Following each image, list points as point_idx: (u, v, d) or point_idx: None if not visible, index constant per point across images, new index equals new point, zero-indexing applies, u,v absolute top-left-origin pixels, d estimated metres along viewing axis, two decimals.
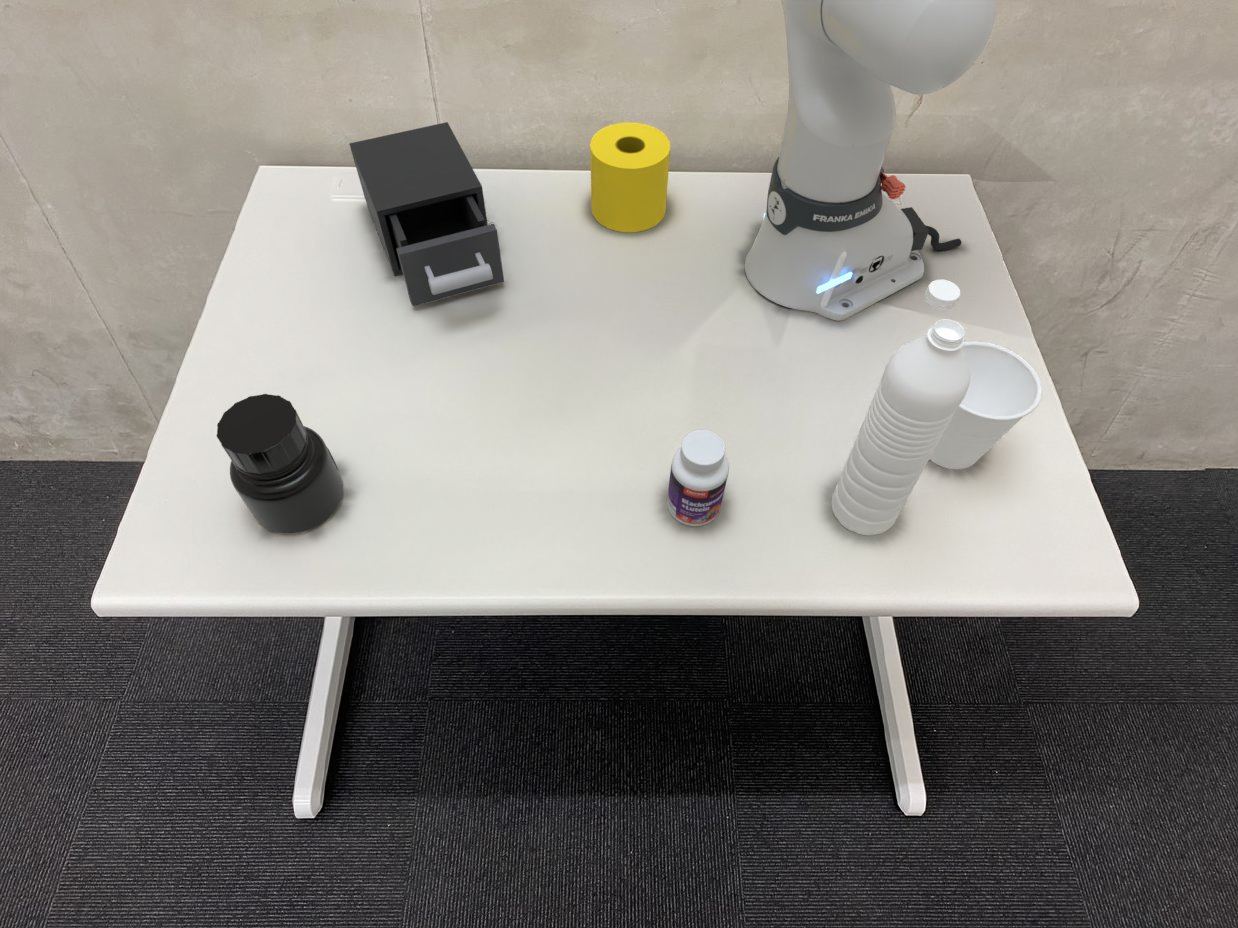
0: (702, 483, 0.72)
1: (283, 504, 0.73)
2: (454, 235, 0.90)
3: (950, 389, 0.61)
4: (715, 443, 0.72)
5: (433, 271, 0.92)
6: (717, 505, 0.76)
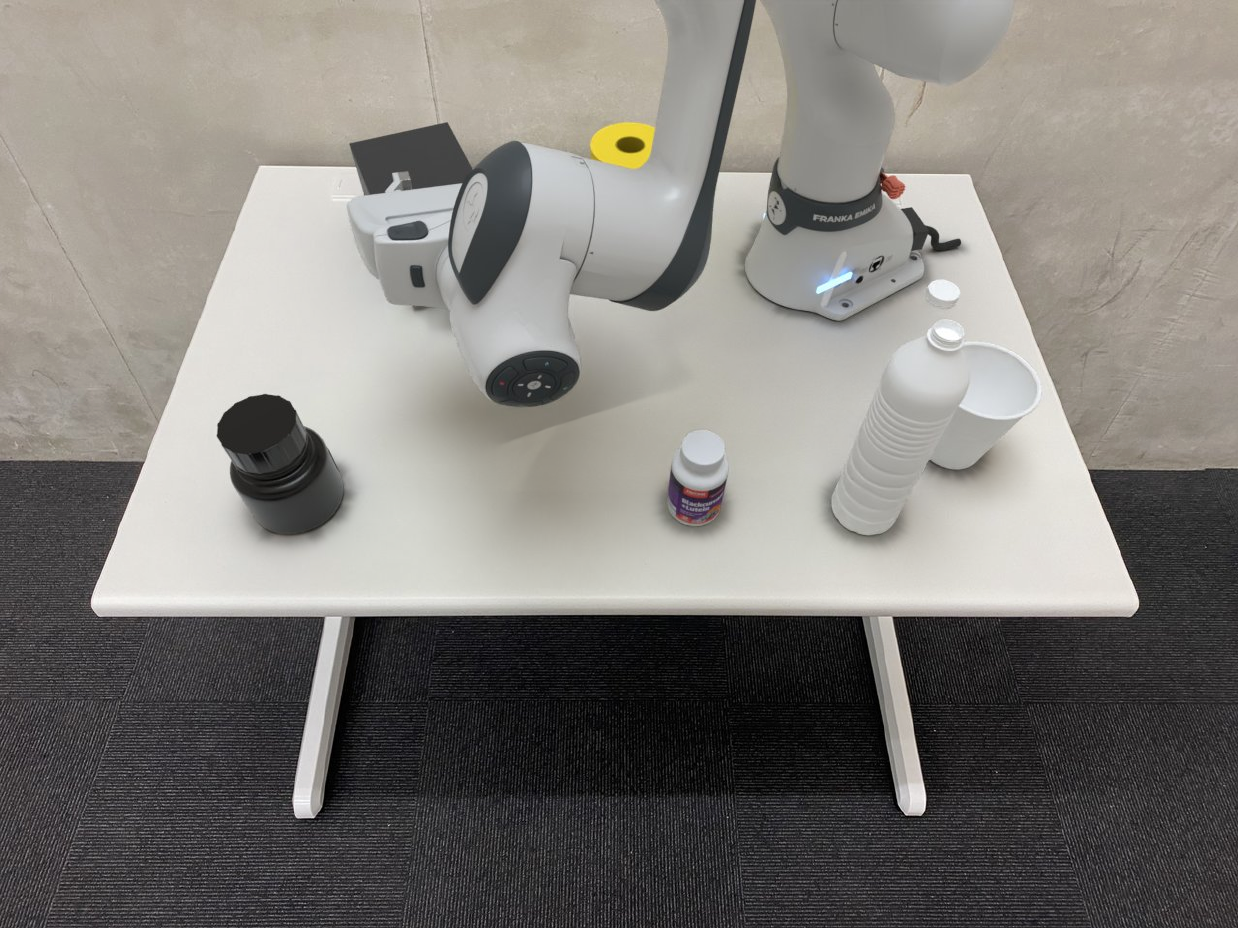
0: (702, 483, 0.72)
1: (283, 504, 0.73)
2: None
3: (949, 389, 0.61)
4: (715, 443, 0.72)
5: None
6: (717, 505, 0.76)
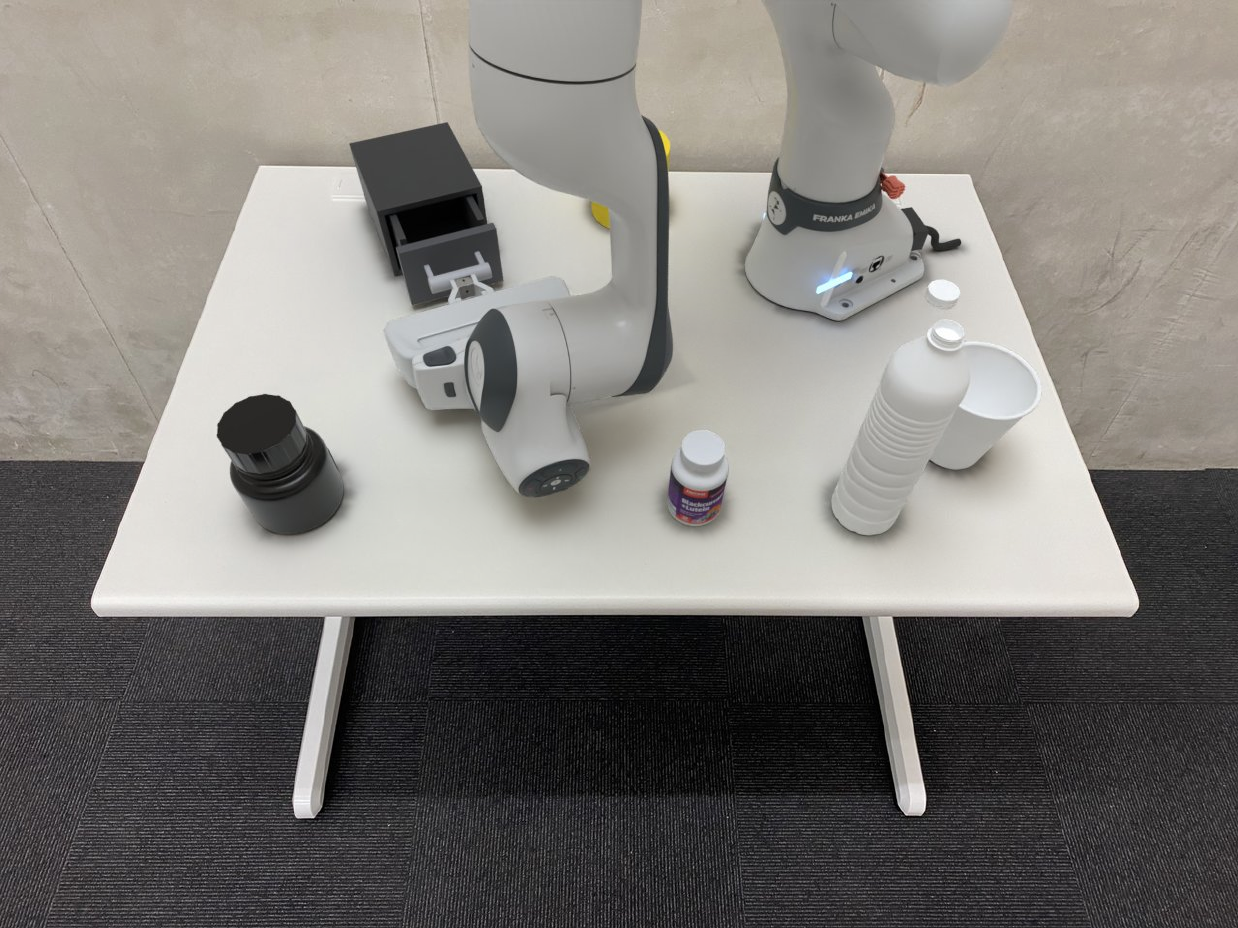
0: (702, 483, 0.72)
1: (283, 504, 0.73)
2: (453, 234, 0.90)
3: (949, 389, 0.61)
4: (715, 443, 0.72)
5: (432, 270, 0.92)
6: (717, 505, 0.76)
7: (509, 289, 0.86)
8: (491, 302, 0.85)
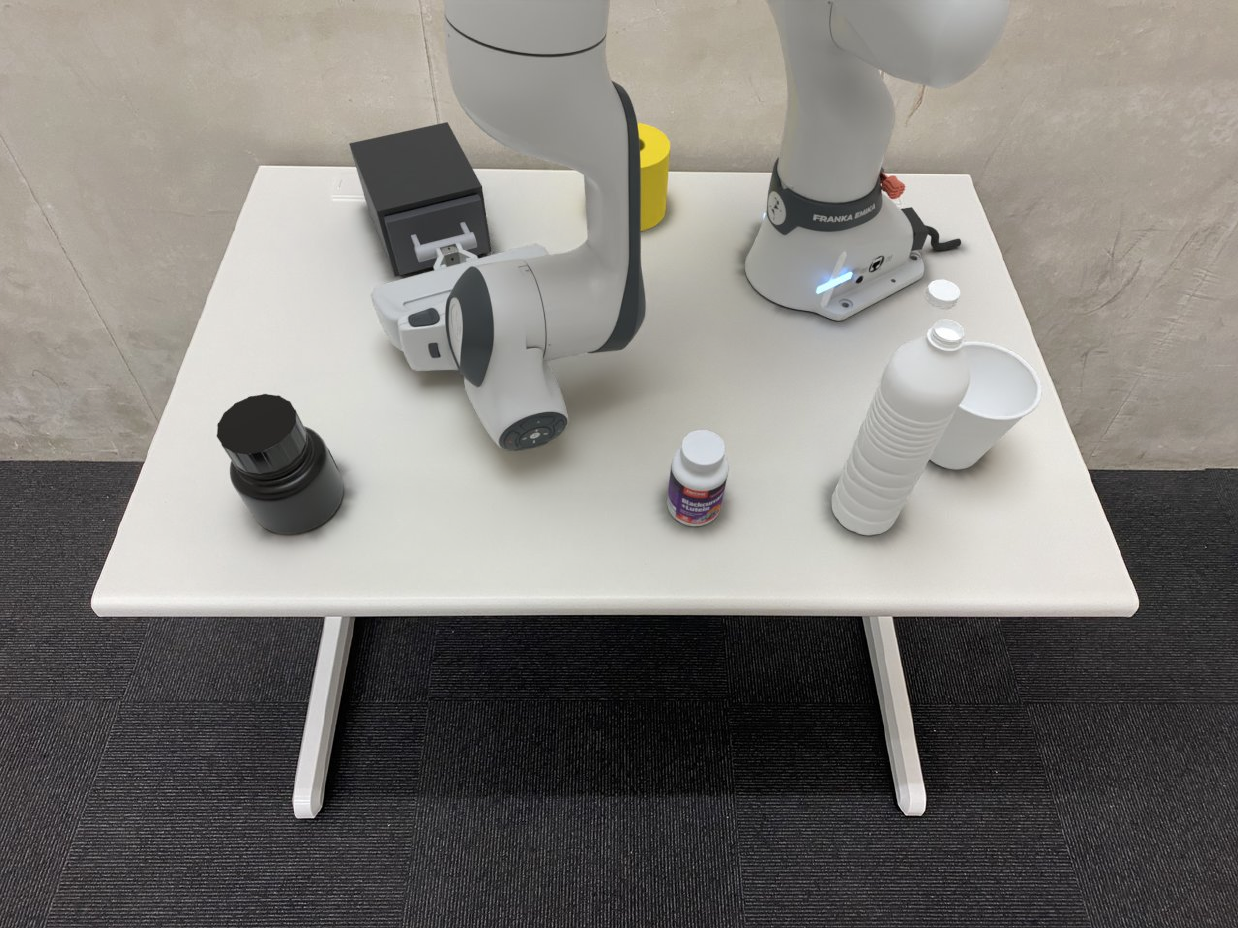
0: (702, 483, 0.72)
1: (283, 504, 0.73)
2: (439, 205, 0.93)
3: (949, 389, 0.61)
4: (715, 443, 0.72)
5: (419, 240, 0.95)
6: (717, 505, 0.76)
7: (492, 256, 0.89)
8: None
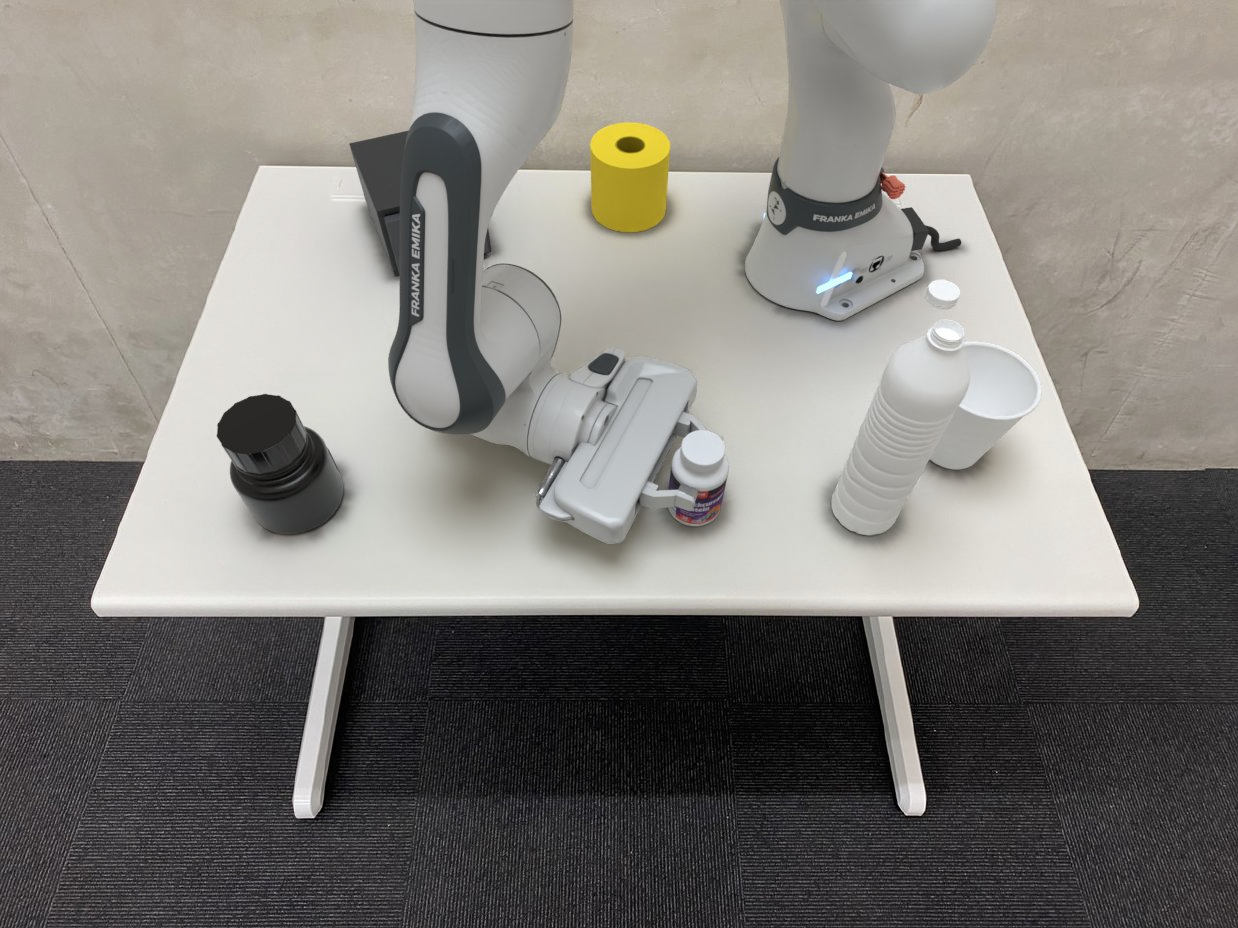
0: (702, 483, 0.72)
1: (283, 504, 0.73)
2: None
3: (949, 389, 0.61)
4: (715, 443, 0.72)
5: None
6: (717, 505, 0.76)
7: (641, 475, 0.72)
8: (639, 451, 0.74)
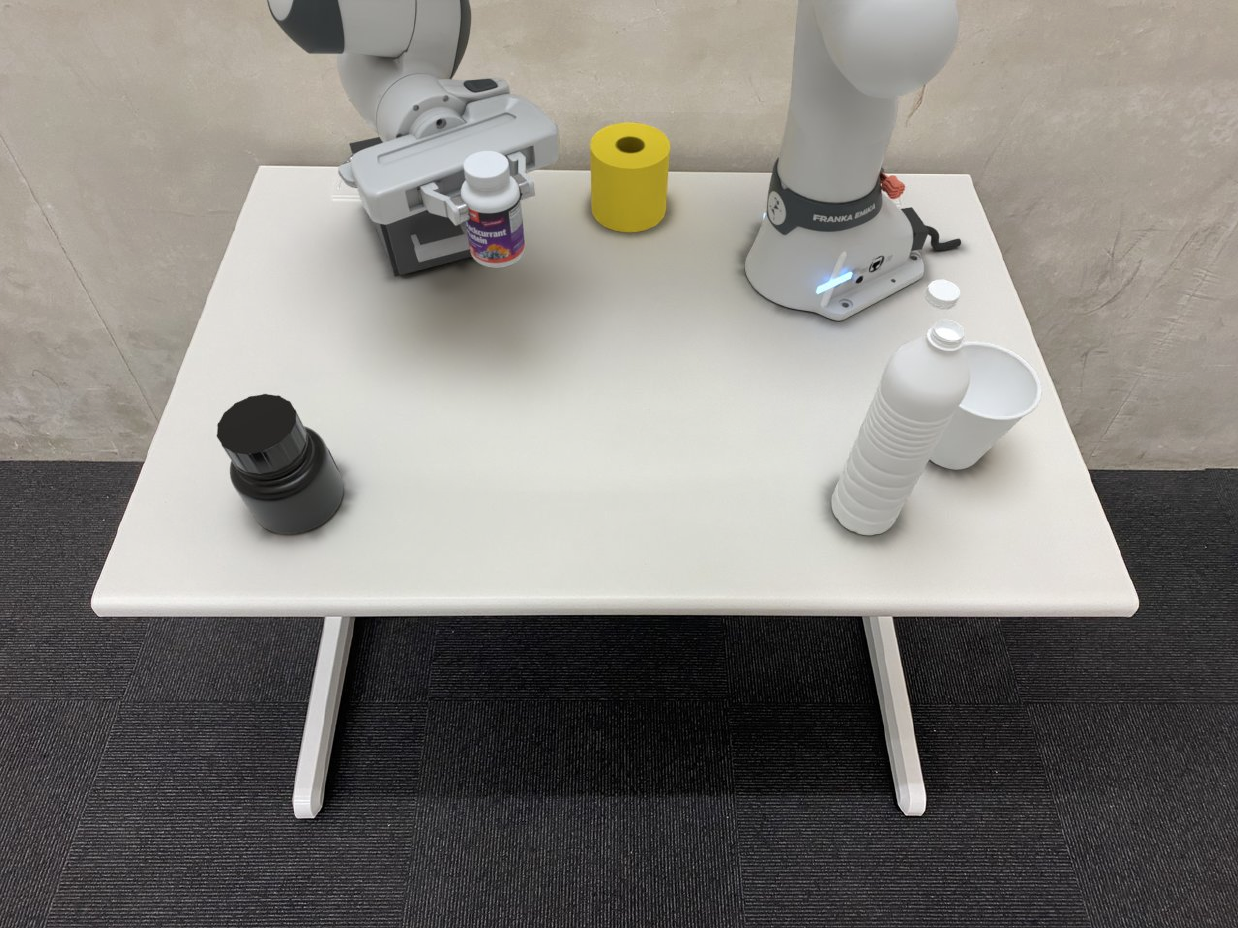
0: (472, 200, 0.71)
1: (283, 504, 0.73)
2: None
3: (949, 389, 0.61)
4: (498, 165, 0.70)
5: (419, 240, 0.95)
6: (499, 245, 0.75)
7: (428, 172, 0.73)
8: (446, 156, 0.74)
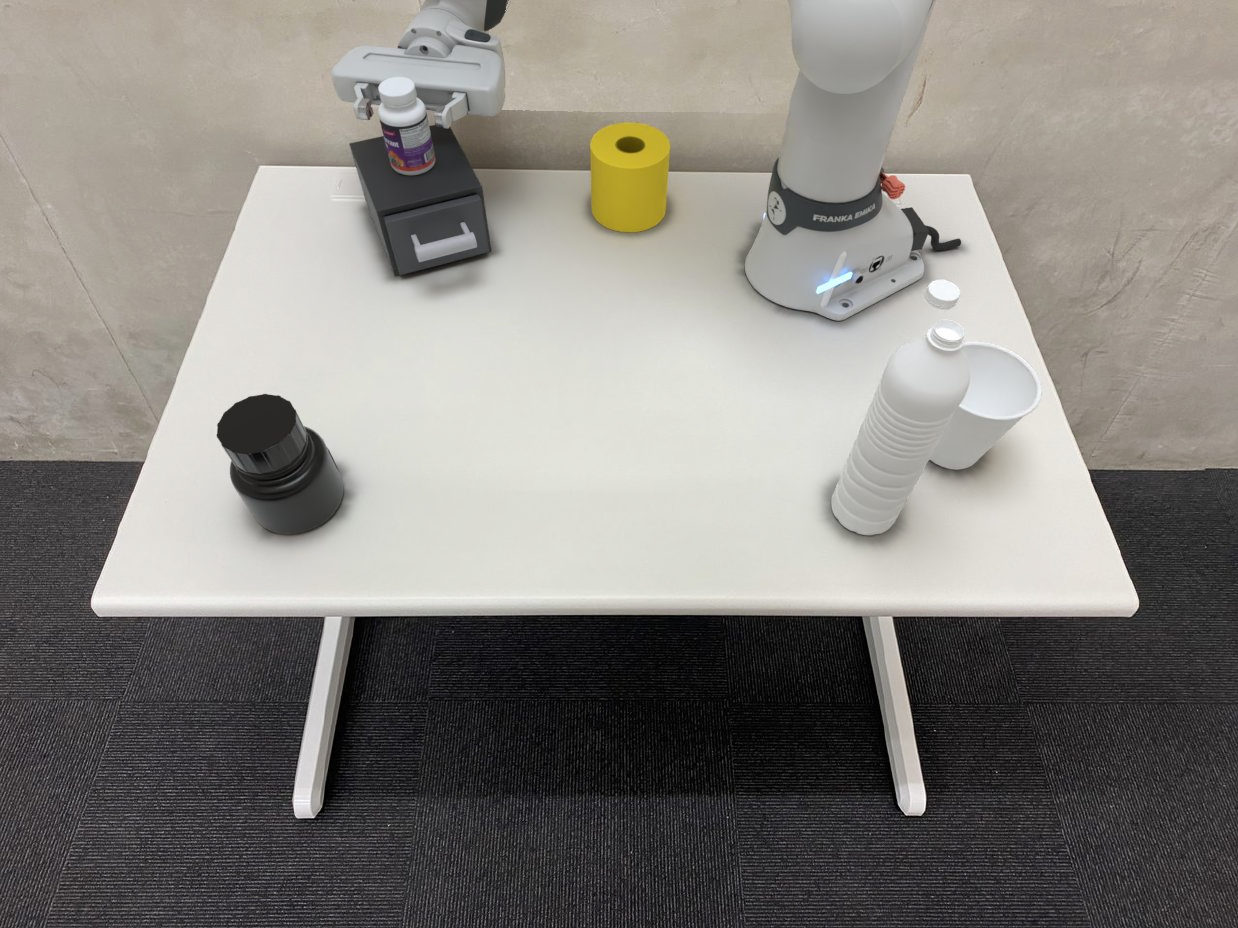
0: (379, 109, 0.90)
1: (283, 504, 0.73)
2: (439, 205, 0.93)
3: (949, 389, 0.61)
4: (400, 91, 0.88)
5: (419, 240, 0.95)
6: (394, 154, 0.93)
7: (378, 75, 0.93)
8: (401, 72, 0.93)
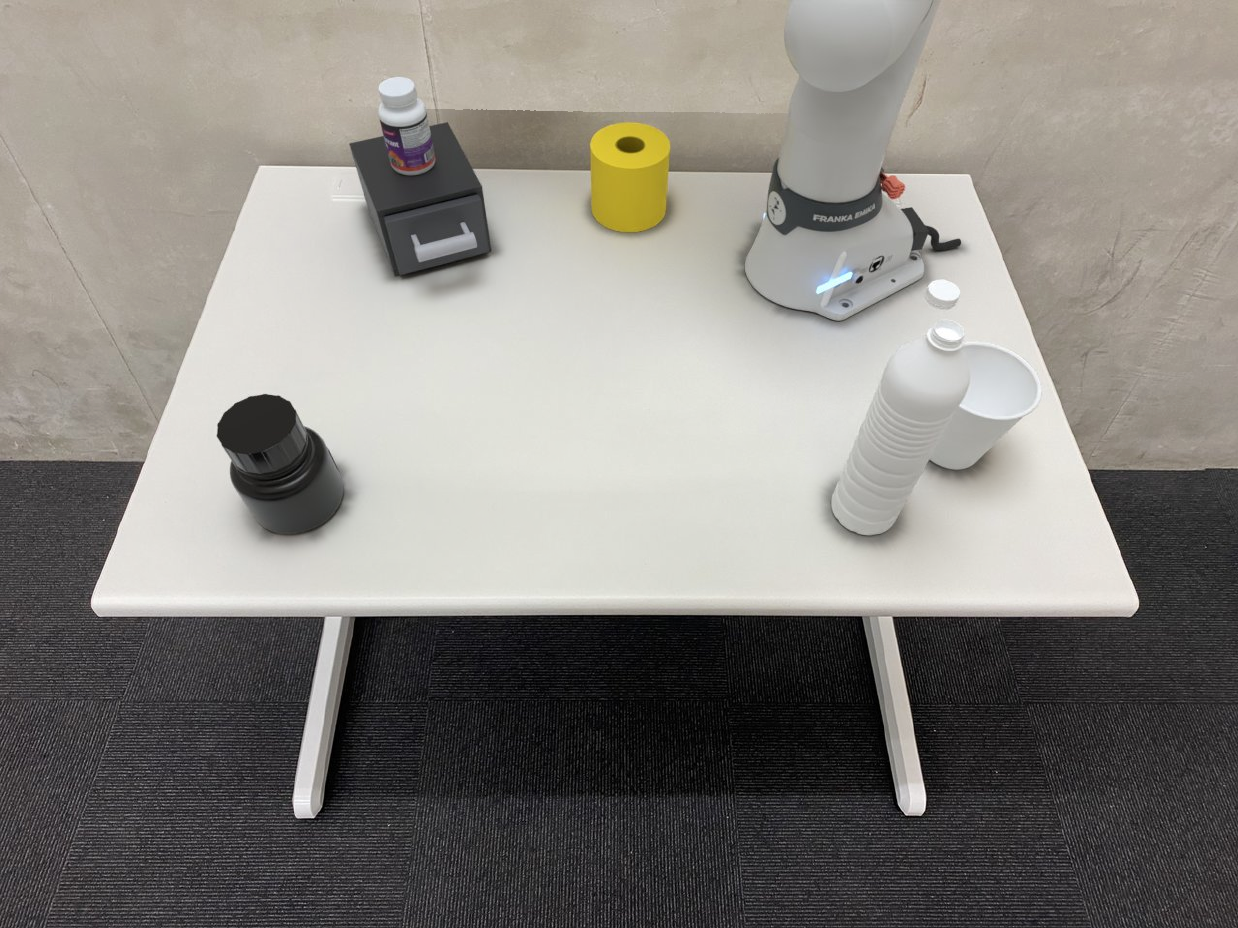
0: (379, 109, 0.90)
1: (283, 504, 0.73)
2: (439, 205, 0.93)
3: (949, 389, 0.61)
4: (401, 91, 0.88)
5: (419, 240, 0.95)
6: (394, 154, 0.93)
7: None
8: None
